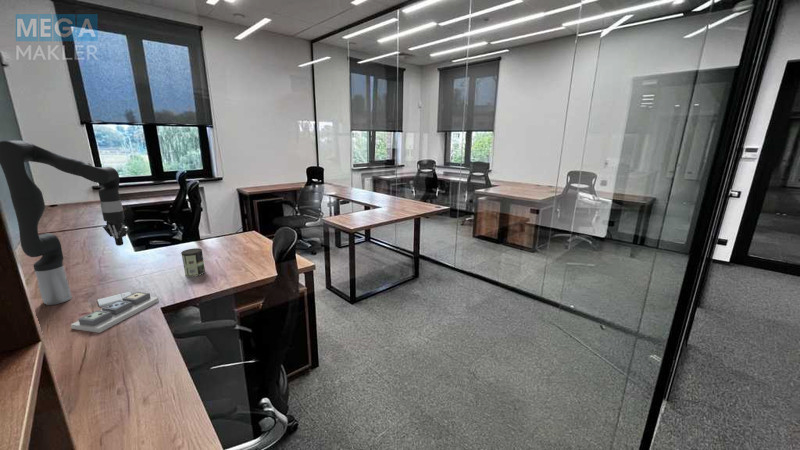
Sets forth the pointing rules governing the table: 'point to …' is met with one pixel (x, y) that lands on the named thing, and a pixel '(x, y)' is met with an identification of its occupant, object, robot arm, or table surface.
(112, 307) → the button three
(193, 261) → the coffee can
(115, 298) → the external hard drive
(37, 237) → the robot arm
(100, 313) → the button two
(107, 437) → the table surface
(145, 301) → the button panel
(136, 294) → the button one
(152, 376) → the table surface
